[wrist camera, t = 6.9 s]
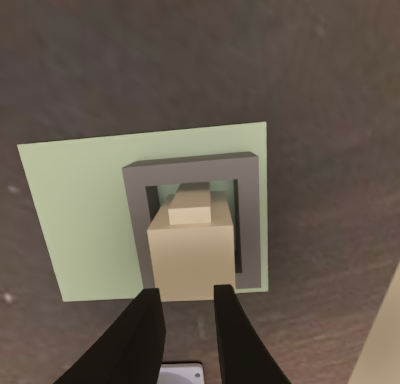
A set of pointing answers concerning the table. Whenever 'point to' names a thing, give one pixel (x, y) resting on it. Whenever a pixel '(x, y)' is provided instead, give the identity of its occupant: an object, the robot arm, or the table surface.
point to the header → (143, 202)
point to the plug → (192, 244)
